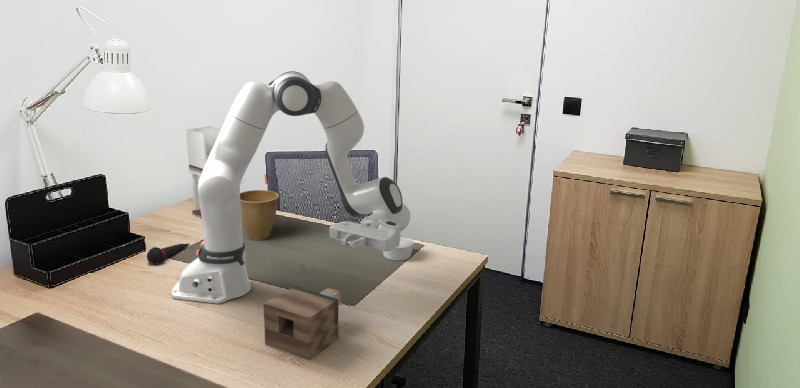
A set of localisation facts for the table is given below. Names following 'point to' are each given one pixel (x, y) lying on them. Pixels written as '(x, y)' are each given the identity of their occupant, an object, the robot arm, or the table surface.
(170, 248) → the microphone
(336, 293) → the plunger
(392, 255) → the ramekin
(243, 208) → the plant pot
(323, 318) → the block
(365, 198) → the robot arm
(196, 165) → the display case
